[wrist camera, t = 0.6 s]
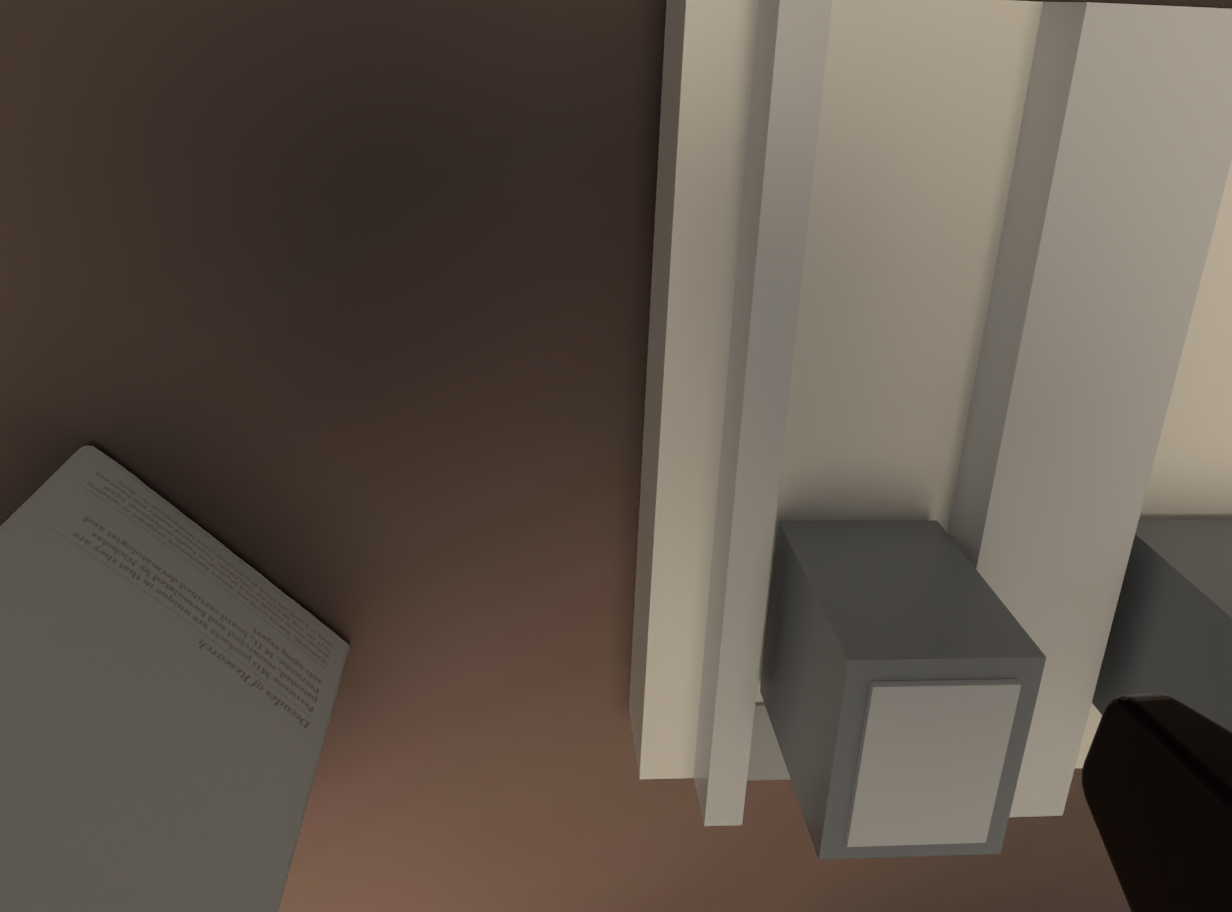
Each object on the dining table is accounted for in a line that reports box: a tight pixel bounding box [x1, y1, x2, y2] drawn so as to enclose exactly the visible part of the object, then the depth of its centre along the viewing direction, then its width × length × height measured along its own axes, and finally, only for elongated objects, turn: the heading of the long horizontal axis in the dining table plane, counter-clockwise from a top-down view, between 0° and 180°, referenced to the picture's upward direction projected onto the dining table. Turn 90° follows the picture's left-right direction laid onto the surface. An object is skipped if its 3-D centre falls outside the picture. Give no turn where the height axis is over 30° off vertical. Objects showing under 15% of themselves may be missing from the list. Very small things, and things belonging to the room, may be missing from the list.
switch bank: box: [629, 0, 1232, 826], centre depth 22 cm, size 16×15×4 cm
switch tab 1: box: [760, 520, 1046, 860], centre depth 20 cm, size 4×3×5 cm
